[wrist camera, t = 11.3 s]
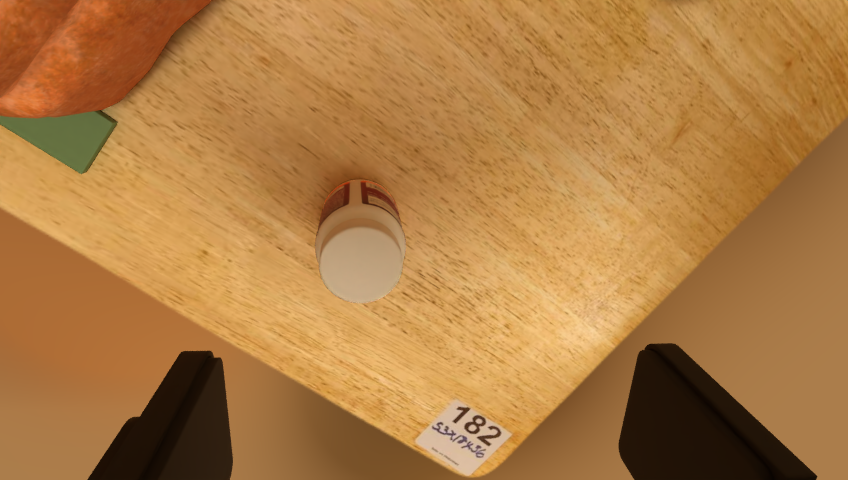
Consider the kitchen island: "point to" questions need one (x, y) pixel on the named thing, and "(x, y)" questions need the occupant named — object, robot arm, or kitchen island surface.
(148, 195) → the kitchen island surface
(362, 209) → the pill bottle
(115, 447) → the robot arm
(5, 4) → the bread
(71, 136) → the green block
